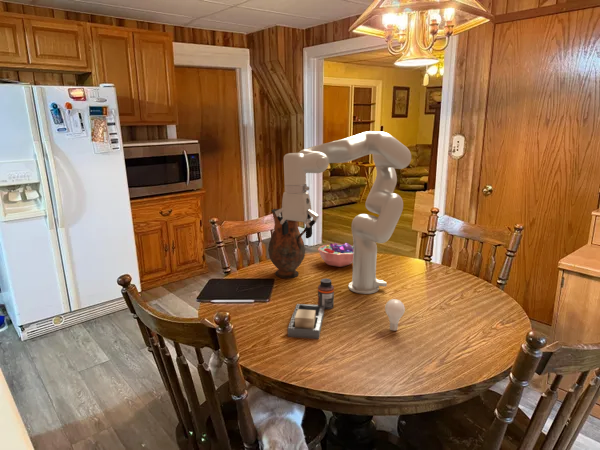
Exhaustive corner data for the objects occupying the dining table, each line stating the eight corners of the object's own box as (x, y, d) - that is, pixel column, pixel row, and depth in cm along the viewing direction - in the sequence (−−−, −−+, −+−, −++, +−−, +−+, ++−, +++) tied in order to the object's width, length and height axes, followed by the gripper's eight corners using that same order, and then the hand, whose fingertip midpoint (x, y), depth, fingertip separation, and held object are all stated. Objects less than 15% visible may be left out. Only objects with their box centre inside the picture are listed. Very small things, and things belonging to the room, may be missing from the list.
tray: (324, 315, 146) (324, 305, 145) (318, 341, 129) (318, 330, 128) (296, 313, 148) (296, 303, 147) (287, 339, 130) (287, 328, 130)
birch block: (315, 326, 136) (315, 310, 135) (313, 335, 131) (313, 318, 129) (297, 325, 137) (297, 309, 136) (294, 334, 132) (294, 317, 130)
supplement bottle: (316, 305, 155) (317, 277, 152) (332, 304, 155) (332, 276, 152) (318, 312, 149) (319, 283, 146) (334, 311, 149) (335, 283, 147)
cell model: (322, 257, 208) (322, 236, 205) (361, 261, 203) (362, 239, 200) (314, 269, 192) (314, 246, 189) (356, 273, 187) (357, 249, 184)
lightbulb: (404, 327, 138) (406, 297, 135) (402, 336, 132) (404, 305, 129) (385, 324, 140) (386, 294, 137) (382, 333, 134) (384, 302, 131)
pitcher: (285, 265, 197) (284, 204, 190) (319, 275, 184) (320, 211, 176) (260, 274, 185) (258, 210, 178) (295, 286, 172) (295, 217, 164)
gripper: (322, 188, 141) (323, 235, 145) (280, 185, 149) (282, 230, 154) (312, 192, 135) (313, 241, 139) (268, 189, 143) (271, 235, 148)
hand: (296, 235), depth 147 cm, fingers open, 9 cm apart
